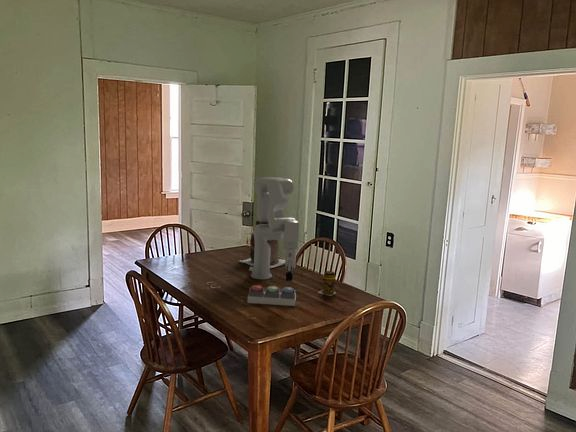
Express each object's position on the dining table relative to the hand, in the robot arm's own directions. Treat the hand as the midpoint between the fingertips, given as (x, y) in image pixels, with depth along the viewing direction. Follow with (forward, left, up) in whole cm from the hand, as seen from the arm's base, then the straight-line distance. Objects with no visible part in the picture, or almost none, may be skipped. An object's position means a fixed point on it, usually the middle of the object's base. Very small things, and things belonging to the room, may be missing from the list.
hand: (289, 280), depth 241 cm
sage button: (-7, -4, -7) cm, 10 cm away
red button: (-14, -8, -7) cm, 17 cm away
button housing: (-7, -4, -12) cm, 14 cm away
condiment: (+9, +26, -12) cm, 30 cm away
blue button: (0, 0, -7) cm, 7 cm away
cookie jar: (-51, +51, -12) cm, 73 cm away
